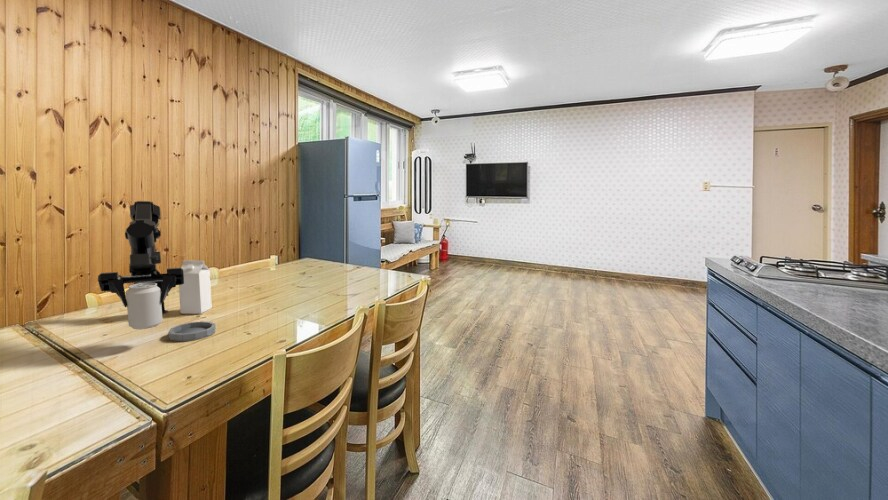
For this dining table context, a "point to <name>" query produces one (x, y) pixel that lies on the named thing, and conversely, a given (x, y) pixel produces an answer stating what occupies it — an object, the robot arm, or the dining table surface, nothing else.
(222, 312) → the dining table surface
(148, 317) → the can
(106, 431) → the dining table surface
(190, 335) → the ring coaster
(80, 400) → the dining table surface
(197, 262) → the milk carton
